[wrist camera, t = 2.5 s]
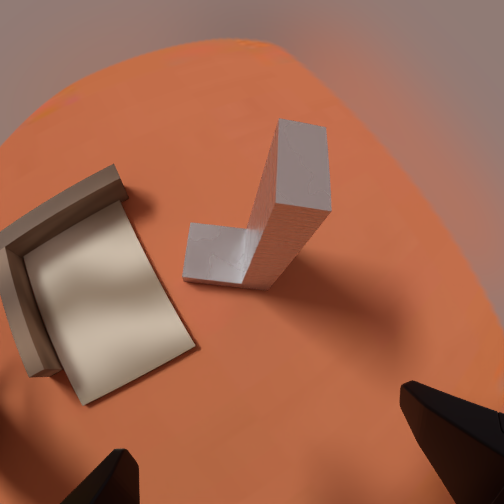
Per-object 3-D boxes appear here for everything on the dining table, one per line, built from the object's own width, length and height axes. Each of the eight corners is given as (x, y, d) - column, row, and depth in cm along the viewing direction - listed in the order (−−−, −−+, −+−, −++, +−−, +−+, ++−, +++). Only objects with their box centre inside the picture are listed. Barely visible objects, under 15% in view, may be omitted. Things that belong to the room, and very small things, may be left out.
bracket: (267, 290, 22) (331, 211, 11) (183, 281, 22) (157, 189, 10) (270, 238, 24) (326, 127, 12) (191, 229, 23) (181, 106, 11)
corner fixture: (205, 340, 21) (204, 337, 18) (67, 413, 17) (49, 419, 14) (122, 184, 24) (113, 163, 21) (7, 252, 20) (-12, 240, 17)
